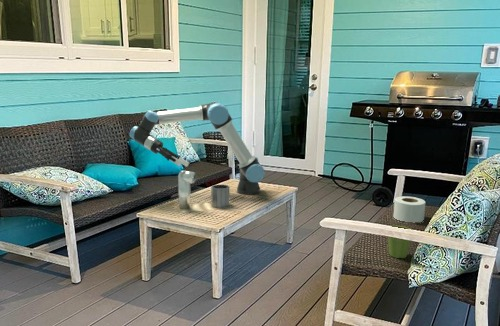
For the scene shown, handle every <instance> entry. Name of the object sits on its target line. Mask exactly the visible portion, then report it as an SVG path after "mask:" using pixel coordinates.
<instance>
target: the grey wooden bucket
mask: <svg viewBox="0 0 500 326" xmlns="http://www.w3.org/2000/svg"><path fill="white" fill-rule="evenodd" d="M210 193H211V194H210V196H211V197H210V198H211V201H210V203H211V206H212V207H215V208H221V209H227V208H226V207H229V205H230V186H229V185H227V184H215V185H212V186H211V188H210Z"/></svg>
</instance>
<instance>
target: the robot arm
mask: <svg viewBox="0 0 500 326" xmlns="http://www.w3.org/2000/svg"><path fill="white" fill-rule="evenodd" d="M196 120H197V121H198V120H201V121H203V122H204V121H210V123H211V124H212V127H214V130H216V131H219V132H220V134H221V135H222V137H223V139H224V140H225V142H226V143H227V145H228V146H229V147H228V148H230V150H231V151H232V153H233V155H234V156H235V157H236V159H237V161H238V162H239V165H238V166H239V181H238V183H237V187H236V192H237V193H238V194H241V195H247V196H249V195H251V196H252V195H257V194H260V193H261V187H260V184H259V182H260V181H261V180H263V178H264V176H265V168H264V167H263V165H261V163H260V162H259V158H258V157H257V156H255V155H252V153H251V152H250V150H249V149H248V147H247V145H246V144H245V142H244V141H243V139H242V137H241V135H240V134H239V132H238V131H237V130H236V128H235V126H234V124H233V123H232V122H233V118H232V116H231V114H230V113H229V109H228V108H227V107H226V106H225V105H224V104H222V103H219V102H216V101H215V102H210V103H209V102H208V103H205V104H200V105H199V106H195V107H186V108H180V109H171V110H162V111H152V110H150V109H149V110H147V111H146V113H144V115H143V117H142V120H141V121H140V124H138V125H135V126H133V127H132V128H131V129H130V131H129V137H130V138H131V139H132V140H134V141H135V142H137V143H138V144H140V145H141V146H143V147H144V148H145V150H147V149H148V150H149V151H150V152H152V153H154V154H160V155H161V156H163V158H165V159H166V161H170V162H172V163H174V164H175V165H176V166H178V167H181V165H183V166H184V167H186V168H187V167H188V166H189V165H190V162H189V161H187V160H186V159H184V158H182V156H181V155H178V154H177V153H175V152H173V151H171V150H169V149H168V148H167V147H163V146H164V142H162V141H161V140H160V139H158V138H157V137H155V136H153V135H152V134H151V133H152V130H153V129H154V127H155V126H157V125H163V124H171V123H181V122H188V121H196Z"/></svg>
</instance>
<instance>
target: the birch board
mask: <svg viewBox="0 0 500 326" xmlns="http://www.w3.org/2000/svg"><path fill="white" fill-rule="evenodd" d="M173 207H174V209H175V210H177V212H178V213H179V214H184V213H185V214H186V213H193V212H194V213H195V212H202V211H212V210H219V209H220V210H221V209H222V208H215V207H212V206H211V202H204V203H193V204H191V208H190V209H179V205H175V206H173ZM230 208H232V206H231V205H230V204H229V207H226V208H225V209H230Z"/></svg>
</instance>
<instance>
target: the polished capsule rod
mask: <svg viewBox="0 0 500 326" xmlns="http://www.w3.org/2000/svg"><path fill="white" fill-rule="evenodd" d="M177 178H178V180H177V182H178V184H177V185H178V206H179V209H190V208H191V205H192V204H191V184H194V183H195V182H196V180H197V173H196V172H195V171H190V170H189V171H188V170H181V171H180V172H179V173H178V176H177Z"/></svg>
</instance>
